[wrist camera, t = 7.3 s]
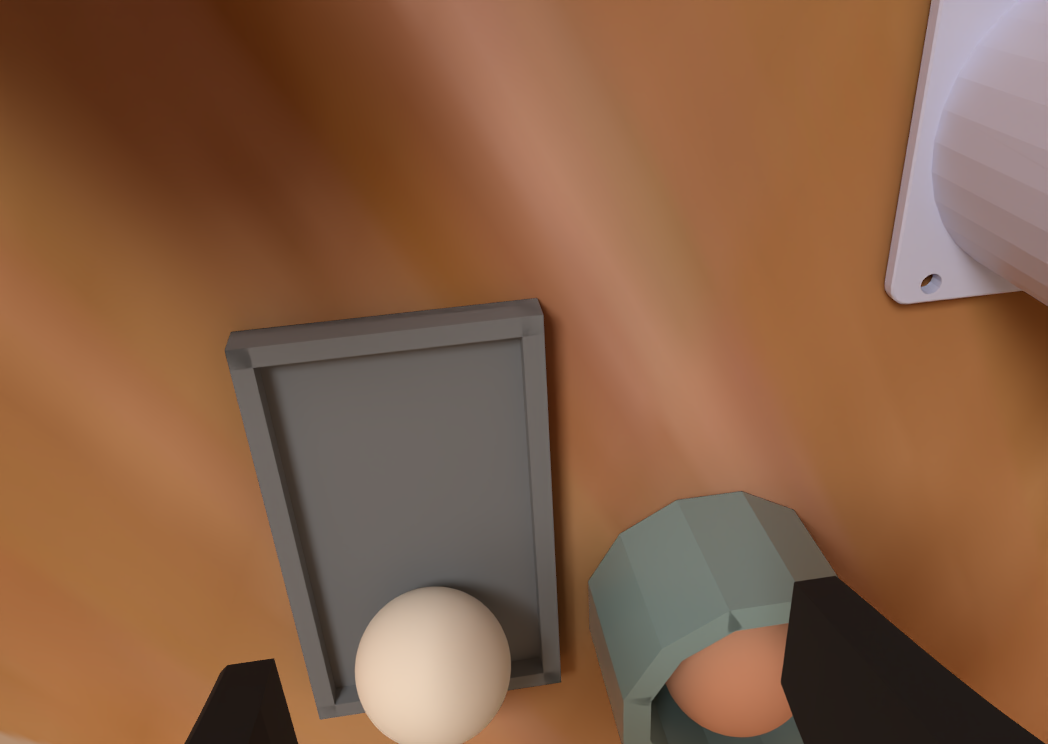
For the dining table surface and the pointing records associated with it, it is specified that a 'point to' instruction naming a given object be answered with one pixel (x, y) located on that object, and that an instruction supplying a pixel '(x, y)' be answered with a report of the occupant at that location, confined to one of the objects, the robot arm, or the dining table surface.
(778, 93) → the dining table surface
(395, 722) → the ball cream
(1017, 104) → the robot arm
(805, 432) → the dining table surface
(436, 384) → the slate tray
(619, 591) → the teal tube
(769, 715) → the ball terracotta
